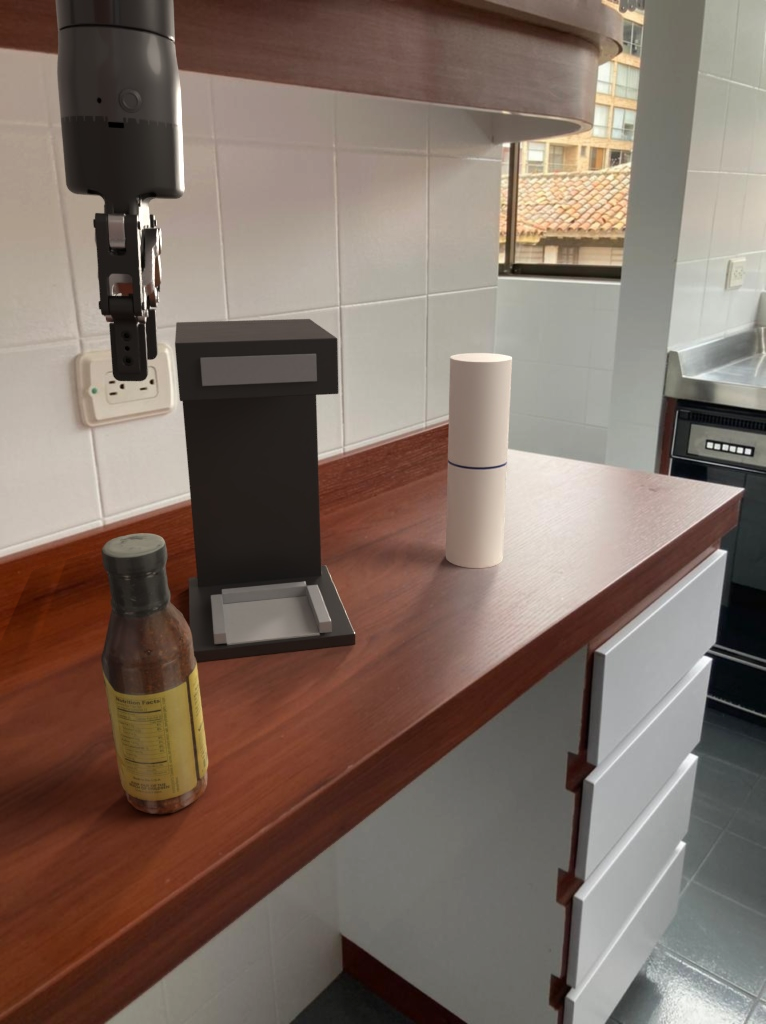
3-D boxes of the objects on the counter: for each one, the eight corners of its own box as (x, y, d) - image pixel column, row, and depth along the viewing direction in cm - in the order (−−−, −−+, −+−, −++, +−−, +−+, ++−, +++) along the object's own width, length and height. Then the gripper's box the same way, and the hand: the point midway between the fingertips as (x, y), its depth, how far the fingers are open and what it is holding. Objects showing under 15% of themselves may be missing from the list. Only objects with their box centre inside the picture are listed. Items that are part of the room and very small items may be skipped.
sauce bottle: (163, 756, 64) (137, 518, 57) (227, 779, 61) (208, 532, 55) (100, 806, 58) (64, 548, 52) (167, 834, 56) (138, 566, 49)
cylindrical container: (440, 564, 100) (444, 360, 92) (451, 544, 107) (456, 352, 99) (498, 570, 99) (507, 363, 90) (506, 549, 105) (515, 354, 97)
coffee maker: (191, 663, 78) (162, 345, 68) (189, 587, 94) (166, 322, 85) (355, 644, 81) (350, 339, 71) (326, 574, 98) (319, 318, 88)
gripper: (79, 125, 59) (96, 352, 64) (37, 99, 45) (63, 388, 51) (186, 132, 60) (194, 354, 65) (176, 108, 47) (187, 389, 52)
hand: (137, 368), depth 58 cm, fingers open, 8 cm apart
